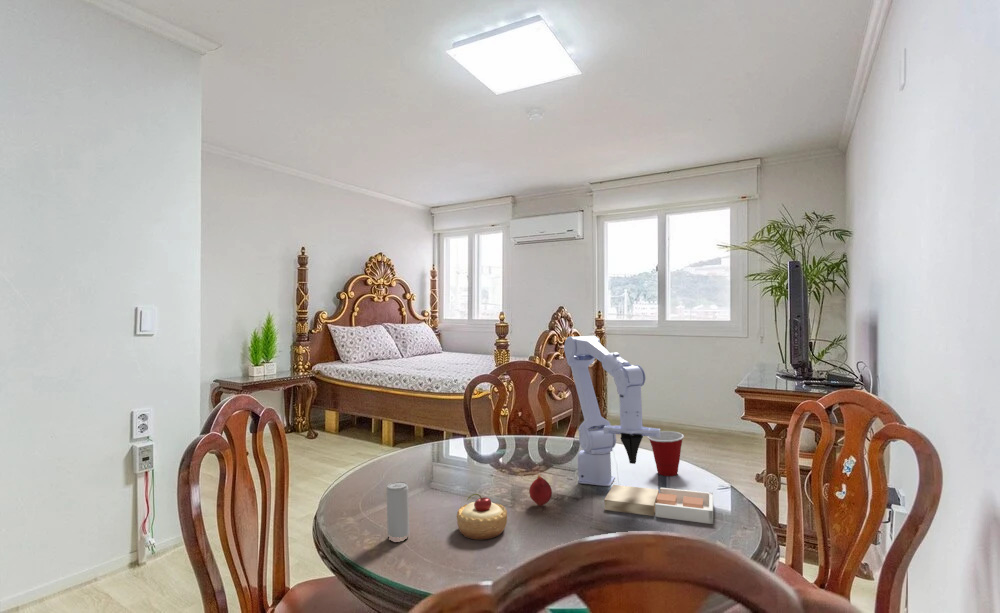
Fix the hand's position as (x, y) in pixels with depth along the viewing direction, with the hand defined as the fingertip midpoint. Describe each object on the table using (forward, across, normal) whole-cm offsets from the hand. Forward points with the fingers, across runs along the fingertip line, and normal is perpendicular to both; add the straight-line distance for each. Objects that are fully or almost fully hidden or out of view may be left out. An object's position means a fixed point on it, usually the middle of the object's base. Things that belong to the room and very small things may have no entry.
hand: (632, 462), depth 129 cm
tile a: (+10, +8, -3) cm, 13 cm away
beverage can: (+10, -46, -41) cm, 62 cm away
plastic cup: (+10, +6, +26) cm, 29 cm away
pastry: (+10, -30, -31) cm, 44 cm away
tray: (+10, +12, -3) cm, 16 cm away
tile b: (+10, +15, -3) cm, 18 cm away
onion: (+10, -22, -12) cm, 27 cm away
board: (+10, 0, -3) cm, 10 cm away
